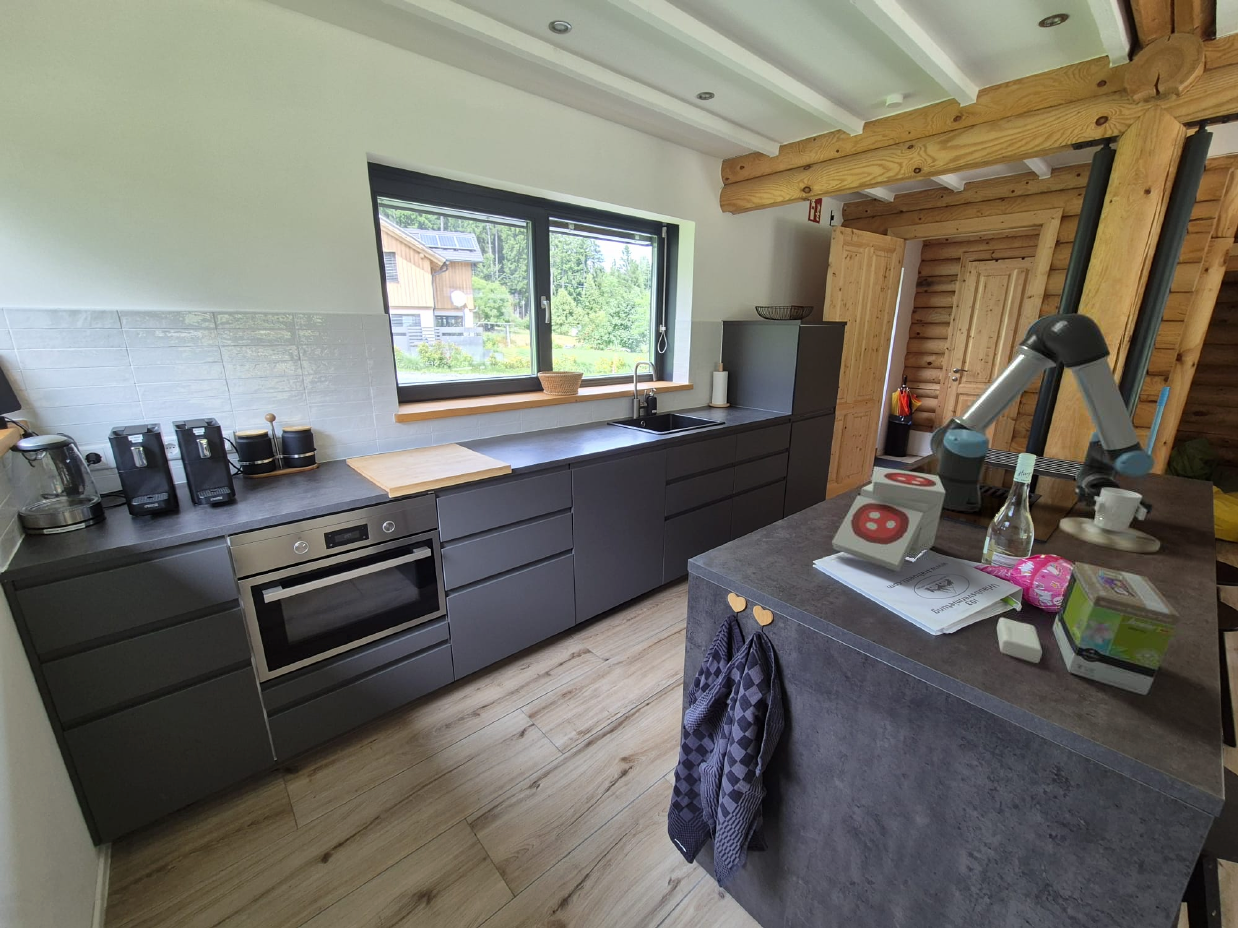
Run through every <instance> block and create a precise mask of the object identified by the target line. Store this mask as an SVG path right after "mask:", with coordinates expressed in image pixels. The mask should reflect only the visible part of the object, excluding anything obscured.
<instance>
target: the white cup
mask: <svg viewBox="0 0 1238 928" xmlns="http://www.w3.org/2000/svg"><path fill="white" fill-rule="evenodd" d="M1099 498H1100V499H1101V501H1102V502H1103V503H1104V505H1103V508H1102V511H1101V513H1099V512H1096V511H1095V512H1094V513H1095V515H1094V524H1095V525H1097V526H1099V527H1102V528H1105V529H1109V530H1114V531H1122V532H1123V531H1127V529H1128V527H1129V528H1130V524H1131V522H1132V521H1133V519H1134V517H1135V513H1136V510H1137V508H1138V506H1139V503H1140V501H1141V499H1143V495H1142V494H1140V493H1137V492H1134V491H1130V490H1127V489H1122V488H1121V489H1117V488H1102V489H1101V493H1100V497H1099Z"/></svg>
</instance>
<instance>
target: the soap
mask: <svg viewBox="0 0 1238 928" xmlns="http://www.w3.org/2000/svg"><path fill="white" fill-rule="evenodd" d="M996 632H997V638H998V643H999V644H998V645H999V650H1000V652H1001V653H1002V654H1005V655H1007V656H1011V657H1013V658H1018V659H1021V660H1025V661H1027V662H1031V663H1034V664H1039V662H1040V660H1041V658H1042V654H1043V650H1042V646H1041V642H1040V640H1039V636H1038V632H1037V629H1036V627H1035V626H1034V625H1032V624H1029V623H1024V622H1020V621H1015V620H1013V619H1009V618H1005V617H1000V618H999V619H998V622H997V626H996Z"/></svg>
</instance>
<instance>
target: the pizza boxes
mask: <svg viewBox="0 0 1238 928" xmlns="http://www.w3.org/2000/svg"><path fill="white" fill-rule="evenodd" d="M871 475H872V476H871V483H870V484H867V485H866V486H863V487H862V488H861V489H860V494H859V495H857V496H856V498H855V500H854V502H853V503H852V504H851V507H850V509H849V511H848V513H847V514H846V516H845V518H844V520H843V521H842V523H841V525H840V527H839V528H838V530H837V532H836V534H835V536H834V537H833V539H832V541H831V544H832V547H833V550H836V551H839V552H842V553H844V554H847V555H850V556H852V557H855V558H858V559H861V560H864V561H867V562H870V563H873V564H876V565H878V566H880V567H884V568H887V569H889V570H892V571H895V572H898V573H899V572H900V569H901V568H902V566H903V564H904V562H905V561H906V560H905V558H906V557H909V558H914V559H915V558H916V557H917V556H918V555H919V554H920V553H922V551H924V550H928V551H929V550H930V549H931V548H932V547H933V546H934V542H935V538H936V533H937V529H938V527H939V522H940V517H941V512H942V509H943V508H942V505H943V501H944V497H945V493H946V492H945V490H944V488H943V486H942V483H941V481H940V479H939V477H938V476H936V475H935V474H929V473H921V472H915V471H908V470H907V471H906V470H901V469H894V468H885V467H879V466H873V470H872V474H871Z"/></svg>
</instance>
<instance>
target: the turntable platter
mask: <svg viewBox="0 0 1238 928" xmlns="http://www.w3.org/2000/svg"><path fill="white" fill-rule="evenodd" d="M1094 519H1095V518H1094ZM1094 519H1093V518H1087V517H1086V518H1085V517H1075V516H1074V517H1063V518H1061V519H1060V522H1059V526H1058V527H1059V529H1060V530H1061V531H1062V532H1064V533H1066V534H1068V535H1069V536H1071V537H1074V538H1076V539H1079V540H1081V541H1085V542H1088V543H1090V544H1093V545H1097V546H1100V547H1104V548H1109V549H1113V550H1119V551H1123V552H1129V553H1130V552H1131V553H1138V554H1139V553H1141V554H1143V553H1144V554H1149V553H1156V552H1158V551H1159V549H1160V547H1161V542H1160V541H1159V540H1158V539H1157V538H1155V537H1154V536H1152V535H1150V534H1147V533H1146V532H1143V531H1140V530H1137V529H1135V528H1133V527H1130V526H1129V527H1128V529H1127V531H1123V532H1122V531H1114V530H1109V529H1105V528H1102V527H1099V526H1097V525H1095V524H1094Z"/></svg>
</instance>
